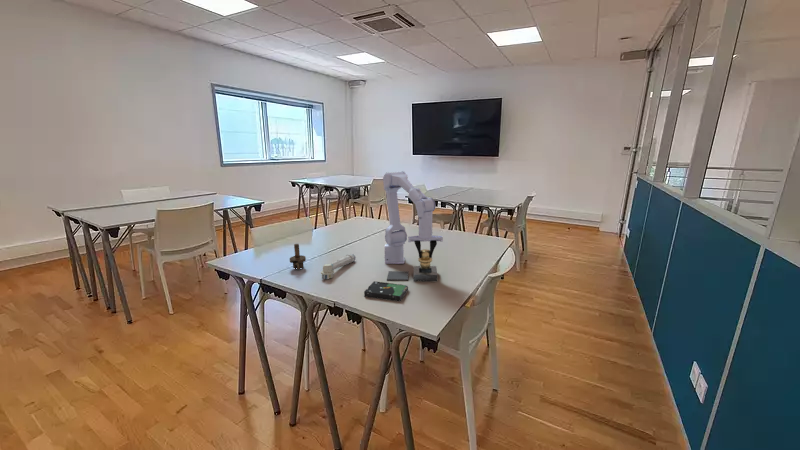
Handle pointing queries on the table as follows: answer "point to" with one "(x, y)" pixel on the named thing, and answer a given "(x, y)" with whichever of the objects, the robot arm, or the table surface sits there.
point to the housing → (425, 274)
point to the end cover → (425, 259)
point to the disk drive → (386, 291)
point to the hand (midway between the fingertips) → (425, 257)
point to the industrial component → (297, 258)
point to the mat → (397, 276)
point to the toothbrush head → (336, 266)
